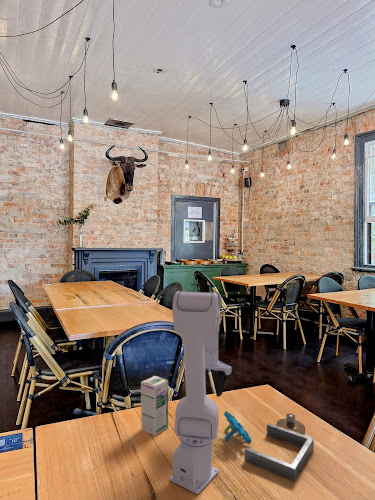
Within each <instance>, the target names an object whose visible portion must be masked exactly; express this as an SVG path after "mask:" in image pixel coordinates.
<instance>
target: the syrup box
mask: <svg viewBox="0 0 375 500" xmlns="http://www.w3.org/2000/svg"><path fill="white" fill-rule="evenodd" d="M140 407H141V408H140V410H141V412H140V413H141V415H140V416H141V424H140V425H141V427H140V428H141V430H142V431H144V432H146V433H147V434H150V435H152V436H154V437H156V436H157V435H158V434H160V433H162V432H163V431H165V430H167V429H168V428H169V380H168V379H166V378H163V377H160V376H157V375H152V377H150V378H148V379H145V380H142V381H140Z"/></svg>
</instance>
